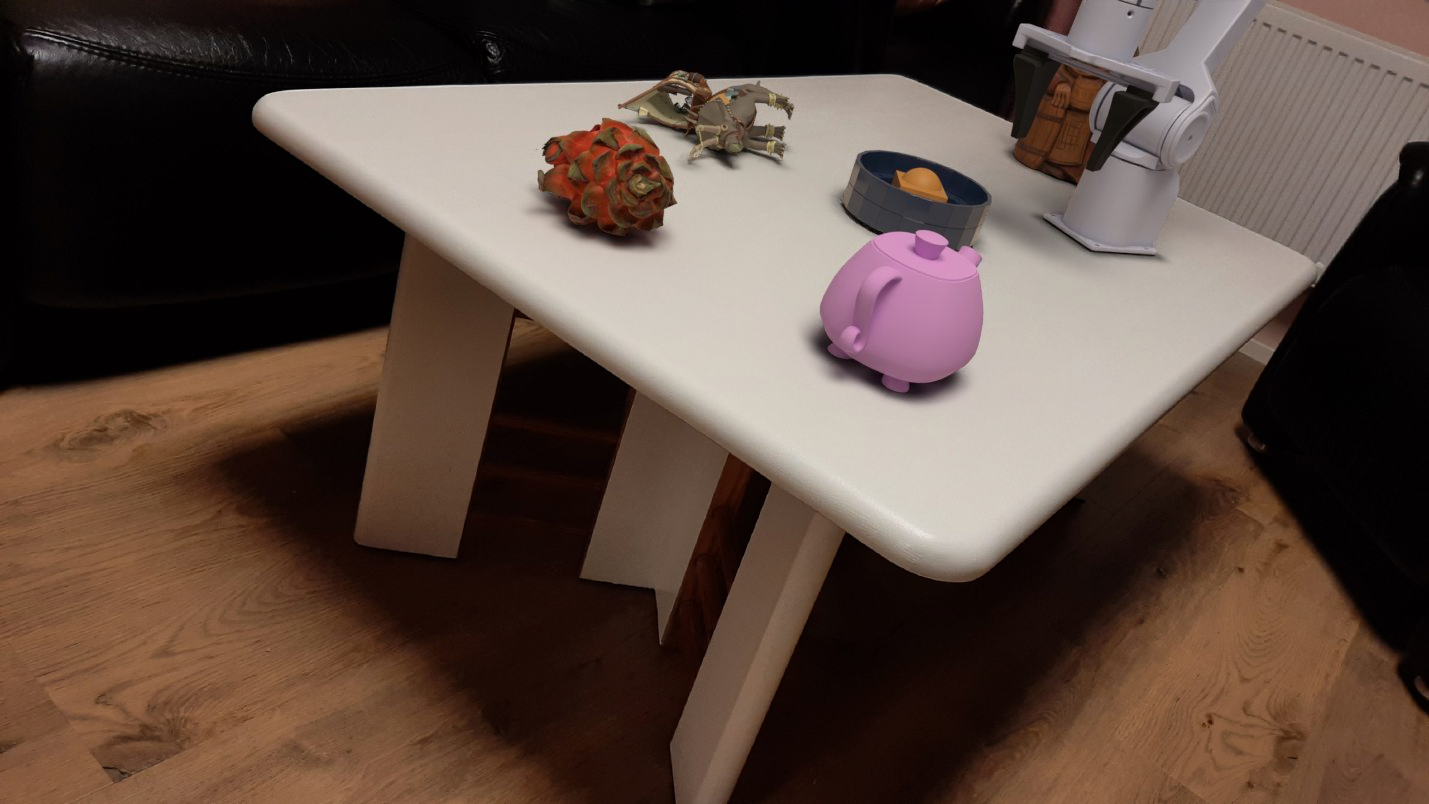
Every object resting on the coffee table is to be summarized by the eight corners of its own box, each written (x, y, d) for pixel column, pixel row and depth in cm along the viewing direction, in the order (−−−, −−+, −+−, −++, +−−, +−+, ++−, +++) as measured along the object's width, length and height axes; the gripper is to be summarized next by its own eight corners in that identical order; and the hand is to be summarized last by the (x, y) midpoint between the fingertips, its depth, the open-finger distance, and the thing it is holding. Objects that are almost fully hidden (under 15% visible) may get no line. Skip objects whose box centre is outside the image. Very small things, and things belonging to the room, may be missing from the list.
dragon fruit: (653, 281, 76) (536, 236, 82) (717, 200, 79) (599, 163, 85) (616, 199, 69) (491, 156, 75) (687, 114, 72) (561, 80, 78)
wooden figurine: (998, 155, 127) (1058, 5, 118) (1016, 149, 132) (1075, 4, 123) (1088, 192, 123) (1158, 39, 114) (1103, 184, 128) (1171, 37, 119)
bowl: (925, 199, 104) (940, 156, 102) (1000, 257, 95) (1019, 211, 93) (817, 189, 99) (832, 144, 96) (886, 250, 89) (904, 201, 87)
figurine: (799, 135, 93) (614, 90, 92) (781, 197, 96) (603, 154, 95) (796, 69, 110) (640, 30, 108) (781, 124, 113) (629, 86, 111)
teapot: (769, 345, 68) (810, 214, 64) (887, 303, 79) (929, 188, 75) (898, 425, 63) (952, 290, 59) (1004, 368, 74) (1057, 251, 70)
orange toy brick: (885, 202, 99) (901, 155, 97) (929, 214, 99) (946, 168, 97) (890, 224, 92) (907, 174, 90) (938, 238, 92) (956, 188, 90)
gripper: (1025, -30, 87) (966, 125, 94) (1187, 26, 81) (1111, 189, 87) (1058, -26, 92) (1000, 121, 99) (1214, 27, 86) (1140, 181, 92)
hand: (1054, 153), depth 94 cm, fingers open, 7 cm apart
